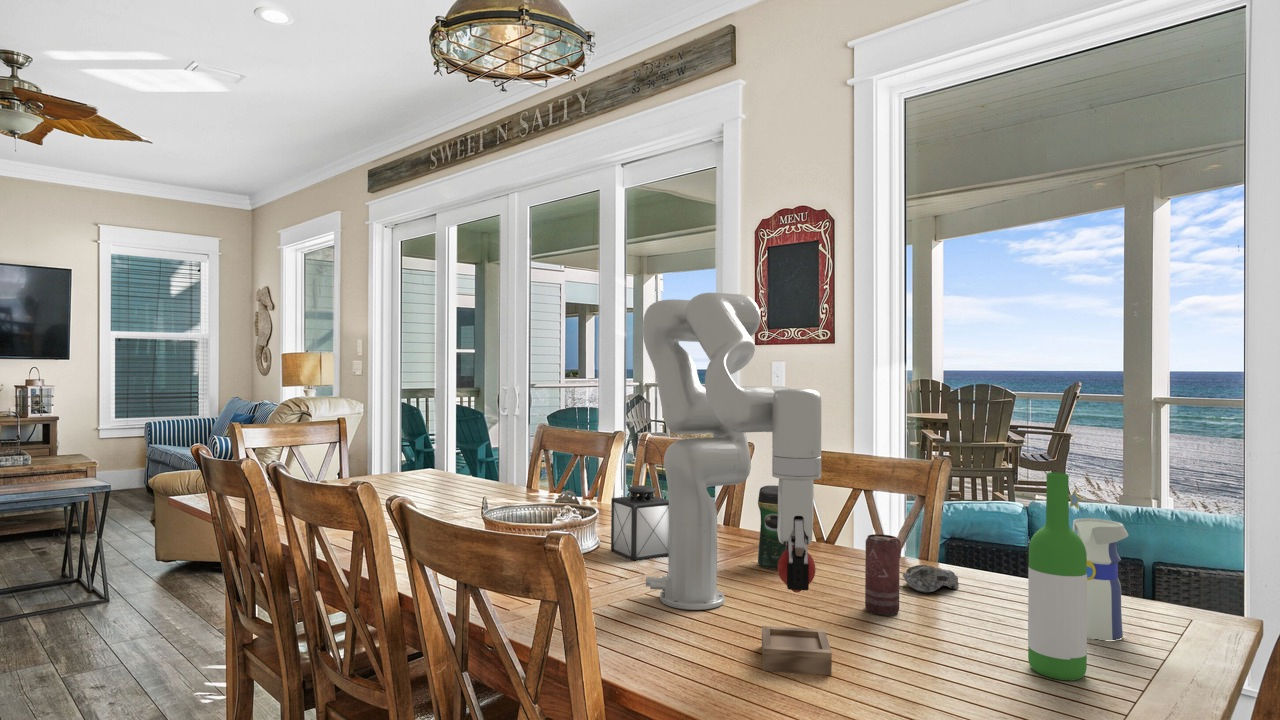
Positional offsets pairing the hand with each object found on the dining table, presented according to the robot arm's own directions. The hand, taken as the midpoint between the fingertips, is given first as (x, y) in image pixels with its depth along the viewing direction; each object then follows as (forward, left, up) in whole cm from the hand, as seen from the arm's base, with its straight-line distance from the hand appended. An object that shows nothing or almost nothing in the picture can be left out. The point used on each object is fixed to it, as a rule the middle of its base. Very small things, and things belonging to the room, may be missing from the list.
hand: (796, 582), depth 116 cm
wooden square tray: (0, 0, -12) cm, 12 cm away
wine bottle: (+39, +2, -12) cm, 41 cm away
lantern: (-33, +62, -12) cm, 71 cm away
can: (+18, +27, -12) cm, 35 cm away
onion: (0, 0, -2) cm, 2 cm away
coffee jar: (0, +56, -12) cm, 57 cm away
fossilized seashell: (+30, +44, -13) cm, 55 cm away
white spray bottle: (+53, +21, -12) cm, 58 cm away
